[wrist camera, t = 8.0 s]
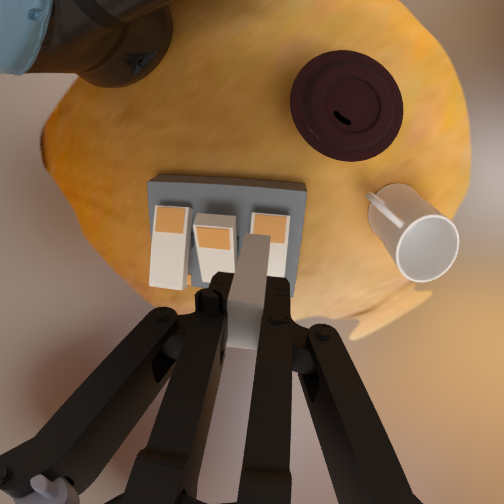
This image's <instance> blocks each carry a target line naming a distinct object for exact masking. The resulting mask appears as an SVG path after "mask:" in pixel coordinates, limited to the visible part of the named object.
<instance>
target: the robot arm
mask: <svg viewBox="0 0 504 504" xmlns="http://www.w3.org/2000/svg"><path fill="white" fill-rule="evenodd" d="M174 1H176V0H0V73H5V74H14V75H23V73H24V74H25V73H76V74H77V75H78V76H80V77H81V78H83V79H84V80H86V81H87V82H89V83H91V84H93V85H95V86H99V87H107V88H118V87H124V86H128V85H131V84H133V83H135V82H137V81H139V80H141V79H142V78H144V77H145V76H147V75H148V74H149V73H150V72H151V71H152V70H153V69H154V68H155V67H156V66H157V65H158V64H159V62H160V61H161V60H162V58H163V57H164V55H165V53H166V51H167V49H168V47H169V44H170V41H171V37H172V28H173V26H172V18H171V15H170V12H169V10H168V8H167V7H166V5H167V4H169V3H171V2H174ZM270 240H271V236H270V235H260V234H250V233H246V234H245V237H244V241H243V244H242V248H241V252H240V255H239V259H238V263H237V266H236V270H235V273H229V272H220V271H218V272H217V273H216V274H215V275H213V276H212V279H211V282H210V284H209V287H208V288H204V289H201V290H199V291H197V293H196V294H195V308H196V310H195V312H193V313H190V314H184V315H177V313H176V311H175V310H174V309H172V308H169V307H158V308H155V309H153V310H152V311H150V312H149V313H148V314H147V315H146V316H145V317H144V318H143V320H142V321H140V323H139V324H138V325H137V326H136V327H135V328H134V329H133V330H132V331H131V332H130V333H129V334H128V335H127V336H126V337H125V338H124V339H123V340H122V341H121V343H120V344H118V346H117V347H116V348H115V349H114V350H113V351H112V352H111V353H110V354H109V355H108V356H107V357H106V358H105V359H104V361H102V363H101V364H100V365H99V366H98V367H97V368H96V369H95V370H94V371H93V372H92V373H91V374H90V375H89V377H88V378H87V379H86V380H85V381H84V382H83V383H82V384H81V385H80V386H79V388H78V389H77V390H76V391H75V392H74V393H73V394H72V395H71V396H70V398H68V400H67V401H66V402H65V403H64V404H63V405H62V406H61V407H60V408H59V410H58V411H57V412H56V413H55V414H54V415H53V416H52V418H51V419H50V420H49V421H48V422H47V423H46V424H45V425H44V426H43V428H42V429H41V430H40V431H39V432H38V433H37V435H36V436H35V437H33V438H32V439H30V440H28V441H26V442H24V443H22V444H21V445H19V446H17V447H15V448H13V449H11V450H9V451H8V452H6V453H4V454H2V455H0V489H1V490H2V491H4V492H5V493H7V494H8V495H10V496H11V497H12V498H13V499H14V501H15V503H16V504H80V500H79V496H78V495H80V494H81V493H82V492H84V491H85V490H86V489H87V488H88V487H89V486H90V485H91V484H92V483H93V482H94V481H95V479H96V478H97V477H98V476H99V474H100V473H101V472H102V470H103V469H104V467H105V466H106V465H107V463H108V462H109V461H110V459H111V458H112V457H113V455H114V454H115V452H116V451H117V450H118V448H119V447H120V445H121V444H122V443H123V441H124V440H125V439H126V437H127V436H128V435H129V433H130V432H131V430H132V429H133V428H134V426H135V425H136V423H137V422H138V421H139V419H140V418H141V417H142V415H143V414H144V413H145V411H146V410H147V408H148V407H149V405H150V404H151V403H152V401H153V400H154V399H155V397H156V396H157V395H158V393H159V392H160V390H161V389H162V388H163V386H164V385H165V383H166V382H167V381H168V379H169V378H170V376H171V378H170V381H169V383H168V386H167V389H166V392H165V394H164V397H163V400H162V403H161V406H160V409H159V412H158V414H157V417H156V420H155V423H154V426H153V429H152V432H151V435H150V438H149V441H148V444H147V446H146V448H145V449H142V450H140V452H139V453H138V455H137V457H136V459H135V462H134V465H133V468H132V471H131V474H130V477H129V480H128V483H127V486H126V489H125V492H124V493H123V494H121V495H118V496H117V497H115V498H113V499H112V500H110V501H108V502H106V503H104V504H207V503H204V502H201V501H199V500H197V499H196V496H197V484H198V477H199V473H200V468H201V464H202V459H203V454H204V450H205V445H206V441H207V436H208V431H209V427H210V422H211V418H212V413H213V408H214V404H215V399H216V395H217V390H218V386H219V381H220V376H221V372H222V367H223V363H224V358H225V346H226V342H227V346H228V347H236V348H244V349H253V350H257V358H256V366H255V375H254V382H253V390H252V397H251V405H250V413H249V420H248V428H247V435H246V443H245V450H244V457H243V465H242V471H241V477H240V484H239V491H238V498H237V502H234V503H223V504H291V487H292V486H291V485H292V477H291V473H290V469H289V464H290V440H291V405H292V403H291V402H292V371H295V372H298V376H299V380H300V383H301V386H302V389H303V392H304V395H305V399H306V402H307V405H308V408H309V410H310V414H311V417H312V420H313V424H314V427H315V430H316V433H317V436H318V439H319V443H320V446H321V449H322V451H323V455H324V458H325V462H326V465H327V468H328V471H329V474H330V477H331V481H332V484H333V487H334V490H335V493H336V497H337V500H338V503H339V504H423V503H421V501H420V500H419V499H418V498H417V497H416V496H415V495H414V494H413V493H412V490H411V488H410V485H409V483H408V481H407V478H406V476H405V474H404V471H403V469H402V467H401V465H400V462H399V460H398V458H397V456H396V453H395V451H394V449H393V446H392V444H391V442H390V440H389V438H388V435H387V433H386V431H385V429H384V427H383V425H382V422H381V420H380V418H379V416H378V414H377V412H376V410H375V408H374V405H373V403H372V401H371V399H370V397H369V395H368V392H367V390H366V388H365V386H364V384H363V382H362V380H361V378H360V376H359V374H358V372H357V370H356V368H355V366H354V364H353V361H352V360H351V357H350V356H349V353H348V352H347V349H346V347H345V345H344V343H343V342H342V339H341V337H340V335H339V333H338V332H337V331H336V329H335V328H333V327H332V326H330V325H327V324H315V325H313V326H311V327H310V328H309V329H308V328H305V327H302V326H300V325H298V324H296V323H295V322H294V321H293V320H292V318H291V315H290V283H289V281H288V280H287V278H284V277H274V276H267V270H268V260H269V250H270Z"/></svg>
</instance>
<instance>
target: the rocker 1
mask: <svg viewBox="0 0 504 504" xmlns="http://www.w3.org/2000/svg"><path fill="white" fill-rule="evenodd" d="M192 215H193V209H192V208H189V207H175V206H157V205H155V212H154V223H153V234H152V246H151V261H150V278H149V286H153V287H161V288H168V289H175V290H184V289H186V288H187V275H188V262H189V249H190V237H191V226H192Z"/></svg>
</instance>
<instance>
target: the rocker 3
mask: <svg viewBox="0 0 504 504" xmlns="http://www.w3.org/2000/svg"><path fill="white" fill-rule="evenodd" d="M289 225H290V216H286V215H275V214H264V213H253V212H252V217H251V228H250V234H260V235H270V236H271V240H270V250H269V260H268V270H267V276H274V277H284V276H285V266H286V256H287V246H288V236H289Z"/></svg>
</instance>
